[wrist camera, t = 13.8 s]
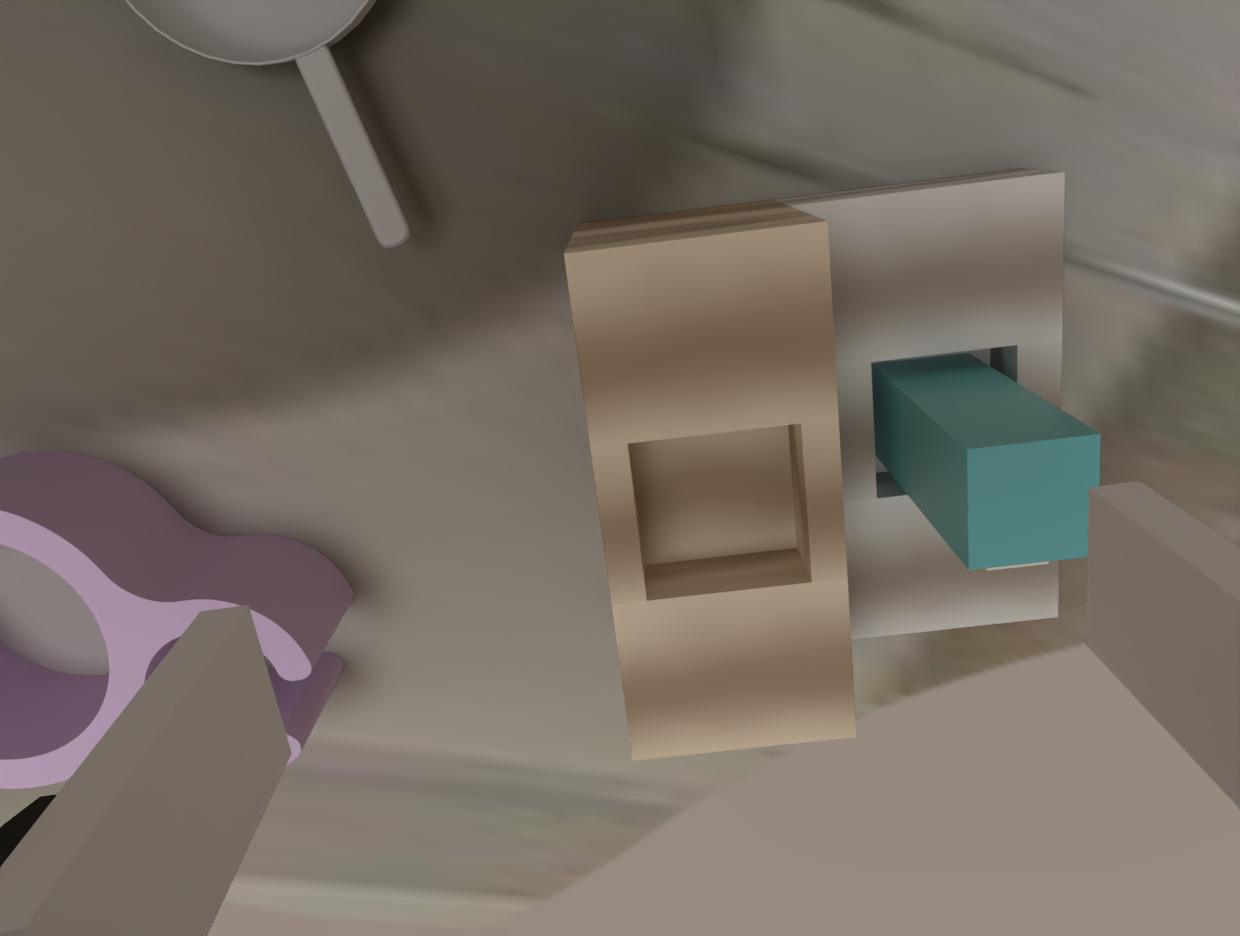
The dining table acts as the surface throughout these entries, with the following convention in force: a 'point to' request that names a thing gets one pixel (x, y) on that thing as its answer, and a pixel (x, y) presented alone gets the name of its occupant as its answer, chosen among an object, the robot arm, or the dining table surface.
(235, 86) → the dining table surface
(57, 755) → the clip
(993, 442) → the plug
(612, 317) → the socket block
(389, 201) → the saucepan
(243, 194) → the dining table surface
